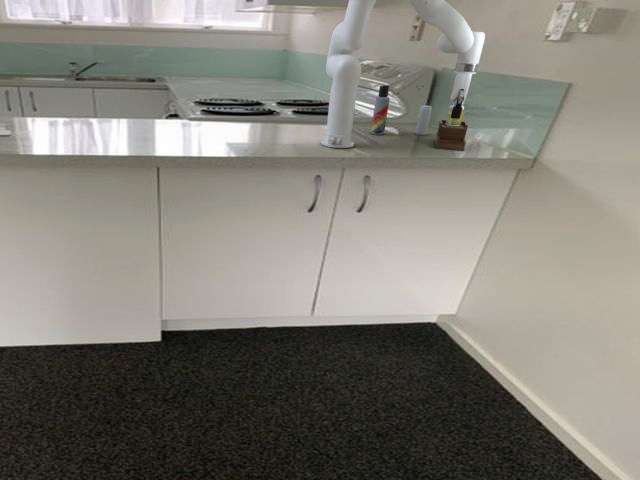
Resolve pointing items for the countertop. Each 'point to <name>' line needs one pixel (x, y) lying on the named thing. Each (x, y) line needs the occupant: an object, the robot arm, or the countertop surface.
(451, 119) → the supplement bottle
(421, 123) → the pale translucent container
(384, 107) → the lotion bottle
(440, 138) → the spice rack
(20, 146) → the countertop surface
